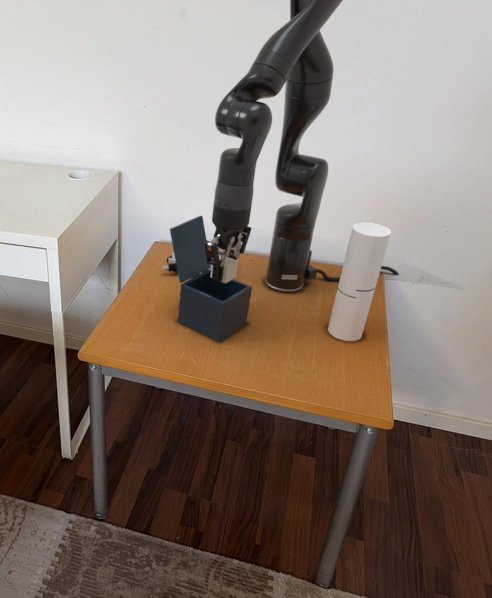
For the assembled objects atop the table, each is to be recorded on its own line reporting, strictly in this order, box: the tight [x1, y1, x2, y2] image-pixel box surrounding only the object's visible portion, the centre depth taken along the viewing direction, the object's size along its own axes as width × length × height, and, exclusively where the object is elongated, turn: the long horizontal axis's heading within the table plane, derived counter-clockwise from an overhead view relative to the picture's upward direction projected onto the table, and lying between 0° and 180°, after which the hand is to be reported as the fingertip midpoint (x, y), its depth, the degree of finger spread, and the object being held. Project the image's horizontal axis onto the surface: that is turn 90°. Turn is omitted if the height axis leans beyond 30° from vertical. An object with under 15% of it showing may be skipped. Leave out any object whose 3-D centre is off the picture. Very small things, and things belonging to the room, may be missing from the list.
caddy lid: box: [169, 215, 211, 284], centre depth 129 cm, size 12×11×1 cm
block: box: [210, 256, 239, 283], centre depth 124 cm, size 4×4×4 cm
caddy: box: [177, 269, 253, 343], centre depth 129 cm, size 12×11×10 cm
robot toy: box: [162, 251, 221, 277], centre depth 153 cm, size 12×4×15 cm
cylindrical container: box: [327, 221, 392, 342], centre depth 122 cm, size 7×7×25 cm
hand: (223, 276), depth 124 cm, fingers closed on block, 4 cm apart
